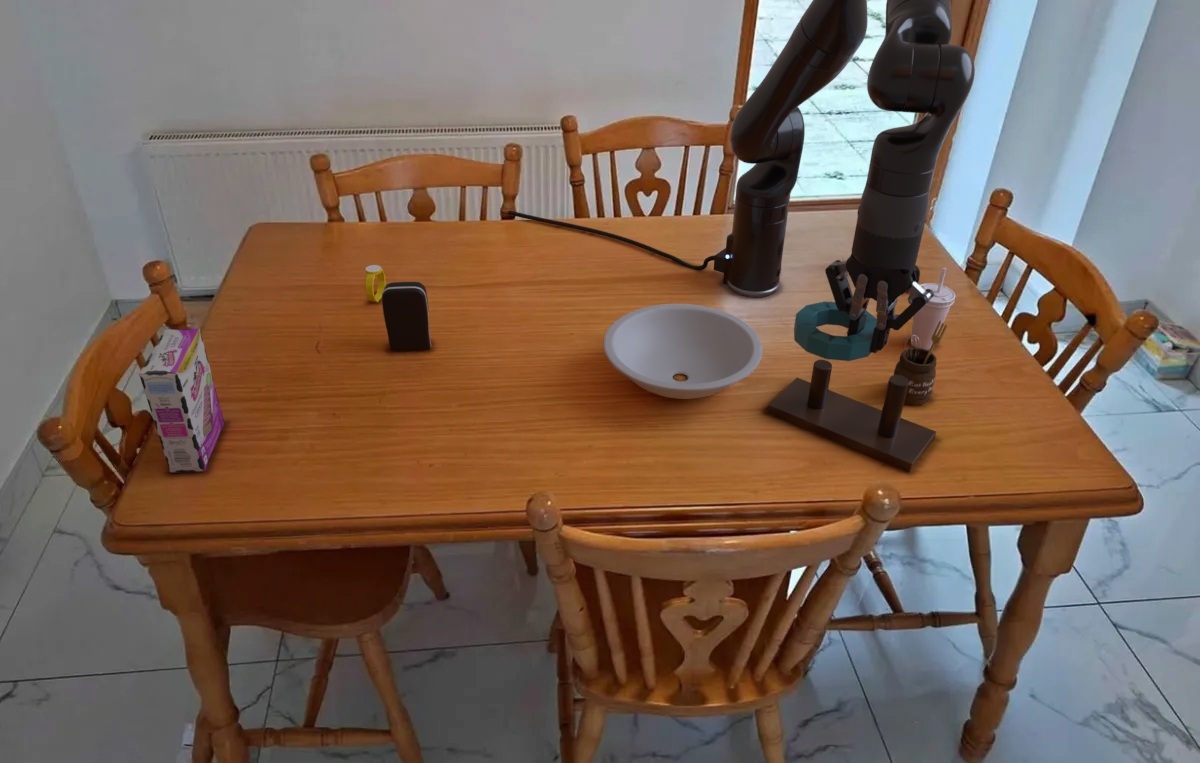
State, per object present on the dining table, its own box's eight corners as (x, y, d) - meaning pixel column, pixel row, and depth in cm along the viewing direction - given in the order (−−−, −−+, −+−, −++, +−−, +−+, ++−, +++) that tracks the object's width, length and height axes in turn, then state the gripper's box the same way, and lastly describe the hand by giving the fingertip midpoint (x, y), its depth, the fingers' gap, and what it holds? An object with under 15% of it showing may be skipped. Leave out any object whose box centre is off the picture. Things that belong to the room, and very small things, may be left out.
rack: (767, 412, 138) (775, 353, 132) (795, 385, 143) (804, 327, 137) (909, 472, 127) (925, 410, 121) (934, 439, 133) (950, 379, 127)
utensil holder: (881, 389, 143) (896, 322, 136) (914, 379, 145) (930, 313, 138) (906, 410, 138) (923, 342, 131) (940, 400, 140) (958, 332, 134)
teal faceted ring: (779, 341, 119) (781, 325, 118) (817, 309, 126) (820, 293, 125) (854, 370, 114) (857, 353, 113) (889, 335, 121) (893, 319, 119)
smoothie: (944, 356, 150) (964, 280, 142) (903, 351, 151) (921, 275, 143) (940, 335, 155) (959, 260, 147) (901, 331, 156) (918, 256, 148)
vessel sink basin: (628, 437, 133) (630, 400, 129) (586, 349, 151) (585, 314, 148) (783, 411, 138) (789, 374, 134) (723, 328, 157) (727, 294, 153)
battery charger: (433, 338, 154) (426, 277, 147) (431, 351, 151) (424, 289, 144) (391, 340, 153) (382, 278, 147) (388, 352, 150) (379, 290, 144)
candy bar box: (207, 472, 126) (176, 373, 116) (169, 474, 125) (135, 374, 116) (227, 422, 135) (200, 326, 125) (192, 424, 135) (162, 327, 125)
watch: (379, 307, 162) (374, 277, 158) (363, 306, 162) (359, 276, 159) (391, 290, 167) (386, 261, 163) (376, 289, 167) (371, 260, 164)
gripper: (961, 226, 107) (929, 352, 117) (850, 195, 114) (829, 316, 124) (936, 250, 102) (905, 379, 112) (821, 215, 109) (802, 340, 119)
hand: (865, 345), depth 118 cm, fingers closed on teal faceted ring, 2 cm apart
